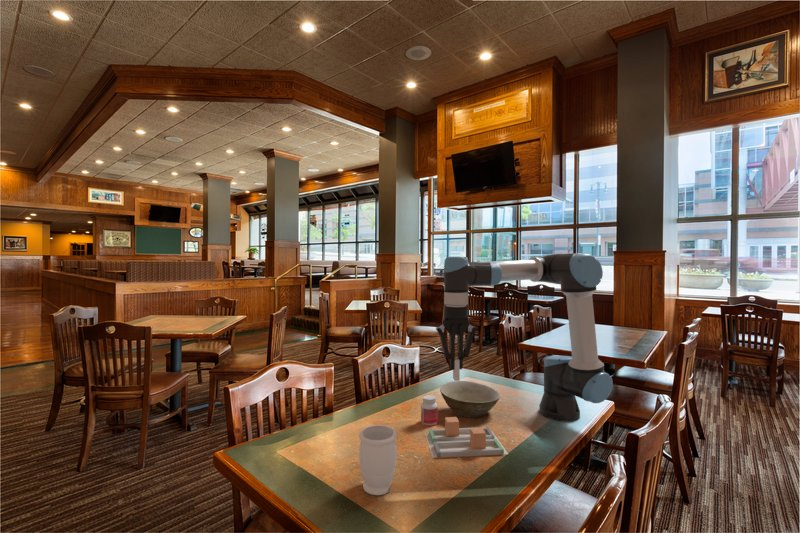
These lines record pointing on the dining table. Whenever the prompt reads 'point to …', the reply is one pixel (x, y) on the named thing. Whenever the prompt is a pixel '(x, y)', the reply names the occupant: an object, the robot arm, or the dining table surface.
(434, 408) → the pill bottle
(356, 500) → the dining table surface
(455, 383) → the bowl
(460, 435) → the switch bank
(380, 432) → the jar
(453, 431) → the tab
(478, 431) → the tab
